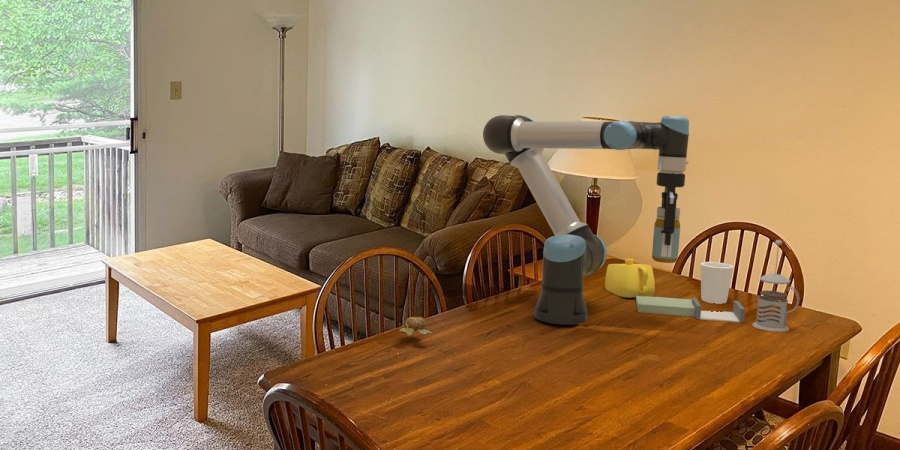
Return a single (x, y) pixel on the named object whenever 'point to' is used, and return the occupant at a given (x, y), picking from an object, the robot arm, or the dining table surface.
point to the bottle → (658, 236)
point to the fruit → (415, 326)
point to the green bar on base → (687, 308)
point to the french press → (774, 303)
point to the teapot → (630, 279)
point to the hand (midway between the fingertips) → (664, 254)
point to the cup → (715, 281)
